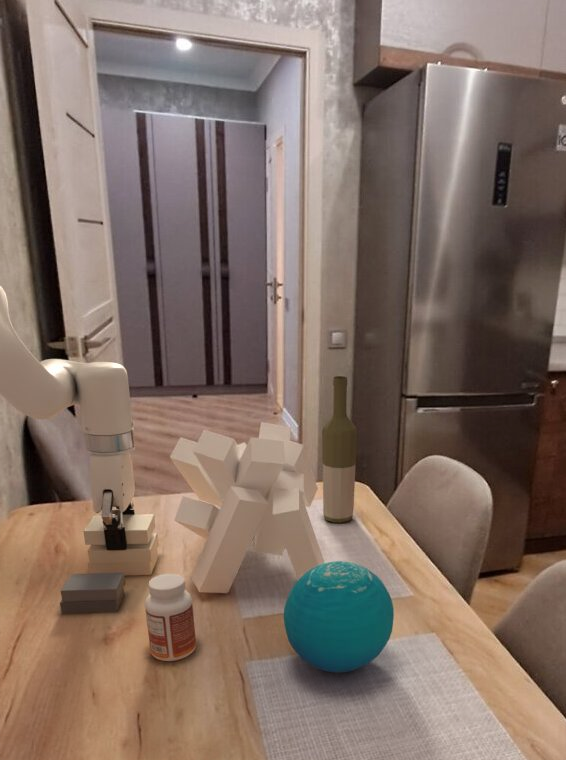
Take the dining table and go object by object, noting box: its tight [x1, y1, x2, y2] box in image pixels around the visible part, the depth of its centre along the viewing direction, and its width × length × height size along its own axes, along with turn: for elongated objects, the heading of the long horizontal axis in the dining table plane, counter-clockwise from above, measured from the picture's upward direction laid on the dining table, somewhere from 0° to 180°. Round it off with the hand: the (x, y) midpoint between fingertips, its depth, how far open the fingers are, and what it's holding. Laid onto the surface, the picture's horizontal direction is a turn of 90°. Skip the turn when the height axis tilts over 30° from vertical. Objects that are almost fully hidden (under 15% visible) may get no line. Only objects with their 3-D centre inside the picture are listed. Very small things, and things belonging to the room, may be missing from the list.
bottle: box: [321, 375, 358, 524], centre depth 136 cm, size 7×7×30 cm
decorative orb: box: [283, 560, 395, 674], centre depth 91 cm, size 15×15×15 cm
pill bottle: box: [144, 573, 197, 662], centre depth 92 cm, size 6×6×11 cm
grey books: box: [59, 573, 126, 615], centre depth 104 cm, size 8×6×4 cm
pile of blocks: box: [169, 421, 325, 594], centre depth 115 cm, size 35×30×35 cm
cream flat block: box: [83, 513, 156, 546], centre depth 114 cm, size 10×7×2 cm
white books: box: [87, 532, 159, 577], centre depth 116 cm, size 10×7×5 cm
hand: (121, 539), depth 115 cm, fingers closed on cream flat block, 7 cm apart
